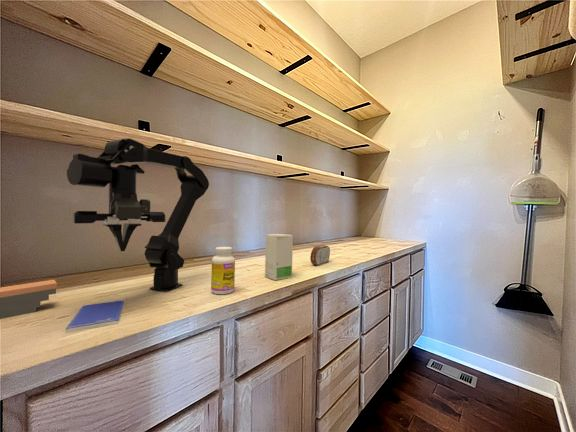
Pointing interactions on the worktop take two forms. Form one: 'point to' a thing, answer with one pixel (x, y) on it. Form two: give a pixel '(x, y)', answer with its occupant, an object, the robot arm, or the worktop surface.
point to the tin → (320, 255)
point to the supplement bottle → (223, 271)
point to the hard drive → (96, 316)
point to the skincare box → (278, 256)
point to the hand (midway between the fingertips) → (122, 251)
